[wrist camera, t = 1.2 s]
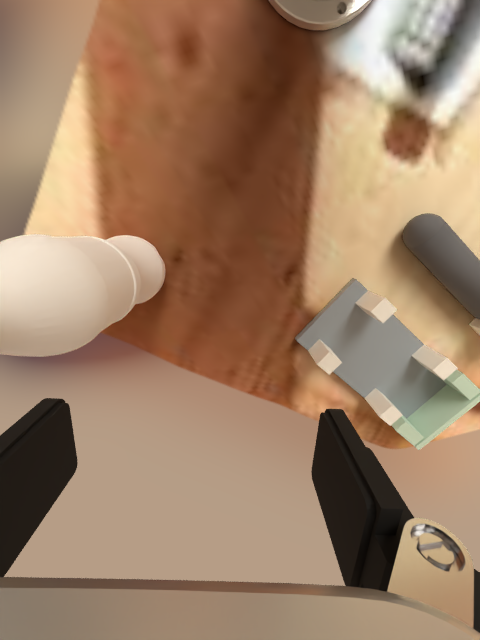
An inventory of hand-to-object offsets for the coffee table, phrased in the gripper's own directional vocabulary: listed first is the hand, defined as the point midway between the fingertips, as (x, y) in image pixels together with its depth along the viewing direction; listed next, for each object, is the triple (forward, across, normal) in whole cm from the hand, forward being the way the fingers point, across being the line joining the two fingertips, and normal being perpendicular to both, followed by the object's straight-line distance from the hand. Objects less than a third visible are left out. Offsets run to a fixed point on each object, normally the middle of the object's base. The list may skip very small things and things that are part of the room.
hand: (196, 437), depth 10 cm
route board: (+24, -20, +7) cm, 32 cm away
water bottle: (+25, +10, -3) cm, 27 cm away
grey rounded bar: (+25, -27, -4) cm, 37 cm away
